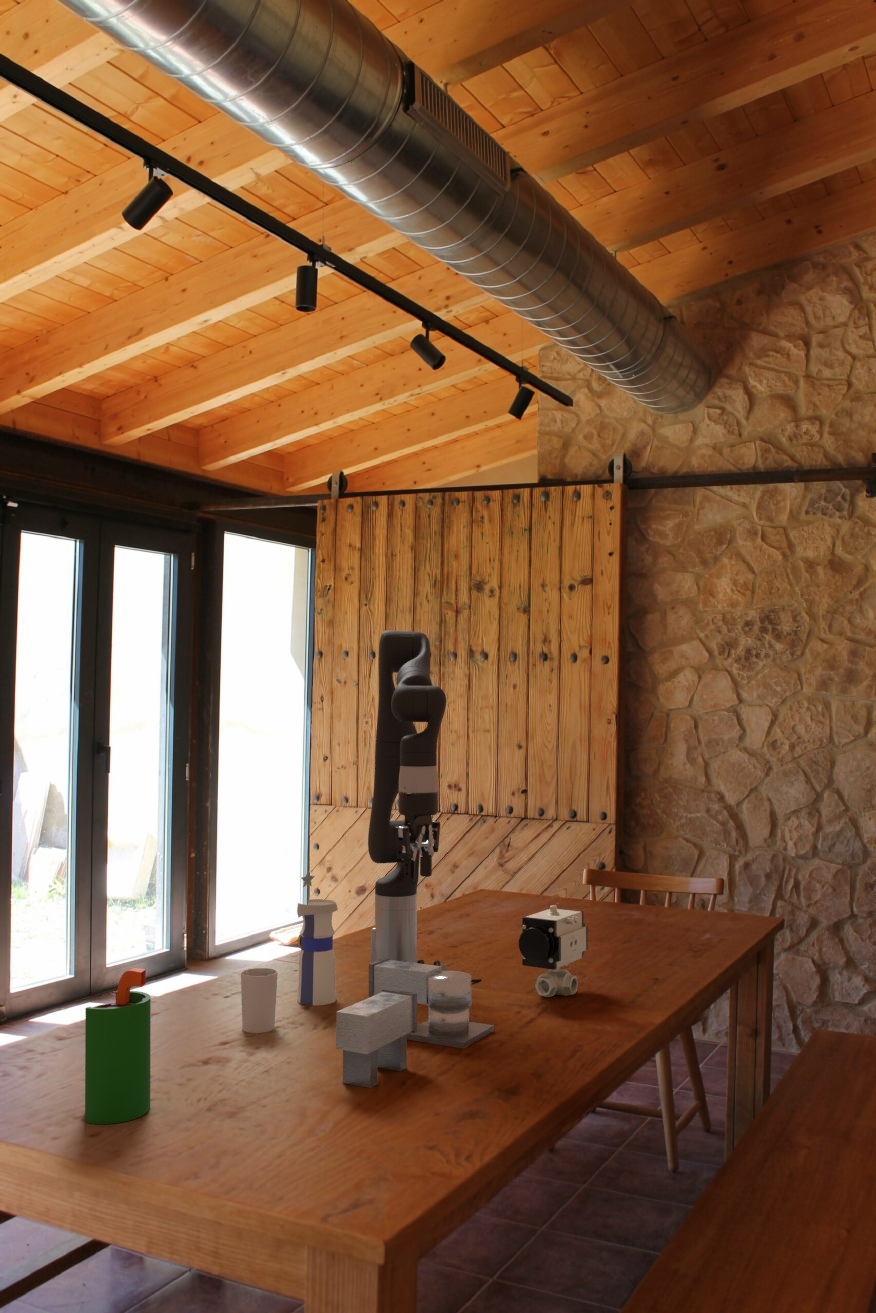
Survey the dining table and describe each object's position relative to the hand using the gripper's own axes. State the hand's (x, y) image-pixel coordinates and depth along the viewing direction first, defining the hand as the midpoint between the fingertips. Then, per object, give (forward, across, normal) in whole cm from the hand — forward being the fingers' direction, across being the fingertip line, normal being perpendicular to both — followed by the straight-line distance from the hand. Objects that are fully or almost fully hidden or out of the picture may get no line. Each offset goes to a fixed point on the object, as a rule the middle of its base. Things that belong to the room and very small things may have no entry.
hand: (417, 878), depth 208 cm
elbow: (+20, +9, +6) cm, 23 cm away
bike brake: (+26, -19, -6) cm, 33 cm away
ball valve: (+26, -27, +18) cm, 41 cm away
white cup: (+26, +22, -21) cm, 40 cm away
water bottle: (+26, +1, -22) cm, 34 cm away
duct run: (+26, +34, +11) cm, 44 cm away
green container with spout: (+26, +65, -13) cm, 71 cm away
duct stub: (+26, +9, +12) cm, 29 cm away
